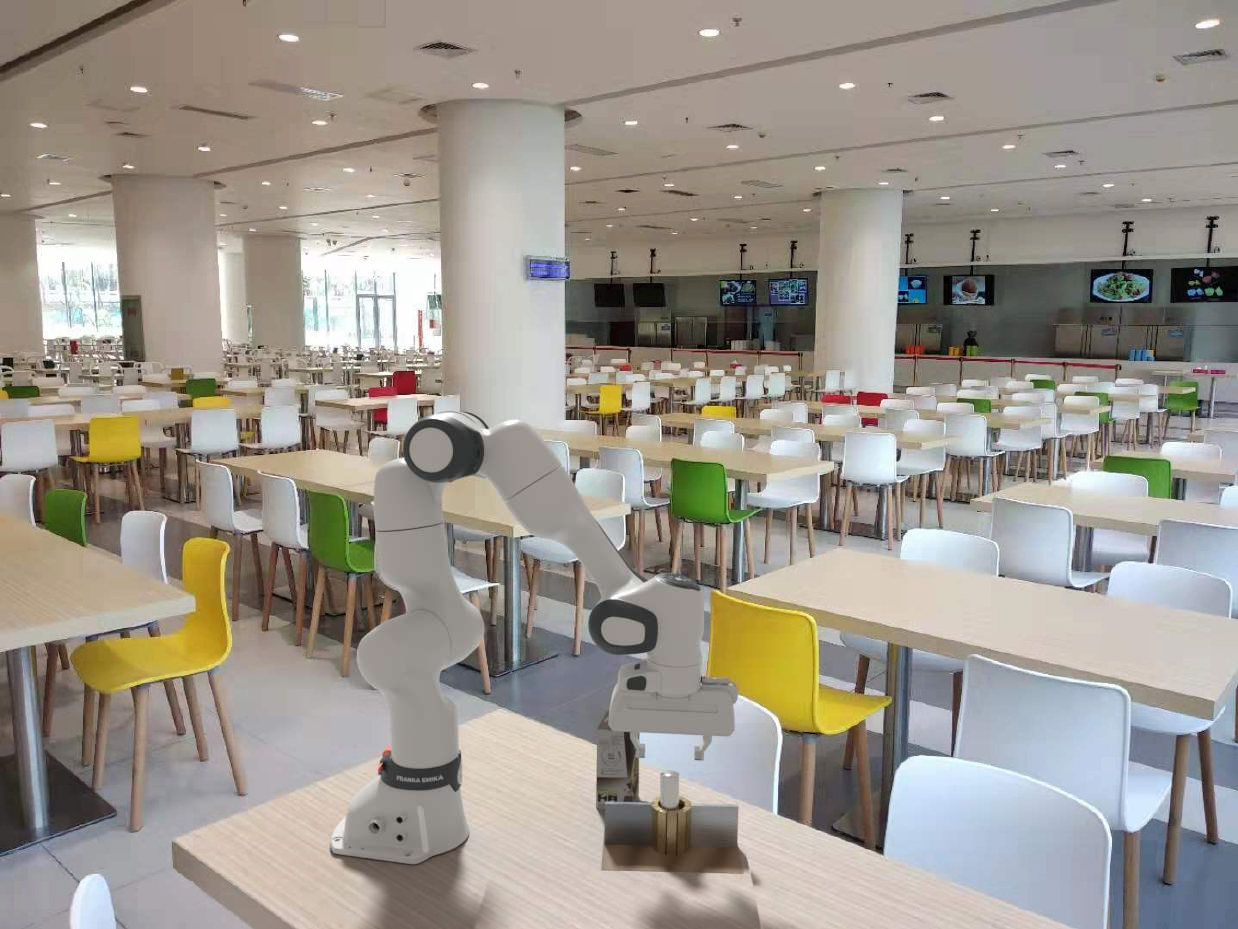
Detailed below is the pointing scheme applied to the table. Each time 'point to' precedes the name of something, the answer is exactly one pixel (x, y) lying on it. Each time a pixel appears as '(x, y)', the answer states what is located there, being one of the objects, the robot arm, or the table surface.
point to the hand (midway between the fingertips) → (669, 757)
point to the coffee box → (615, 766)
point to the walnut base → (671, 859)
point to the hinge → (671, 825)
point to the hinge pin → (669, 790)
